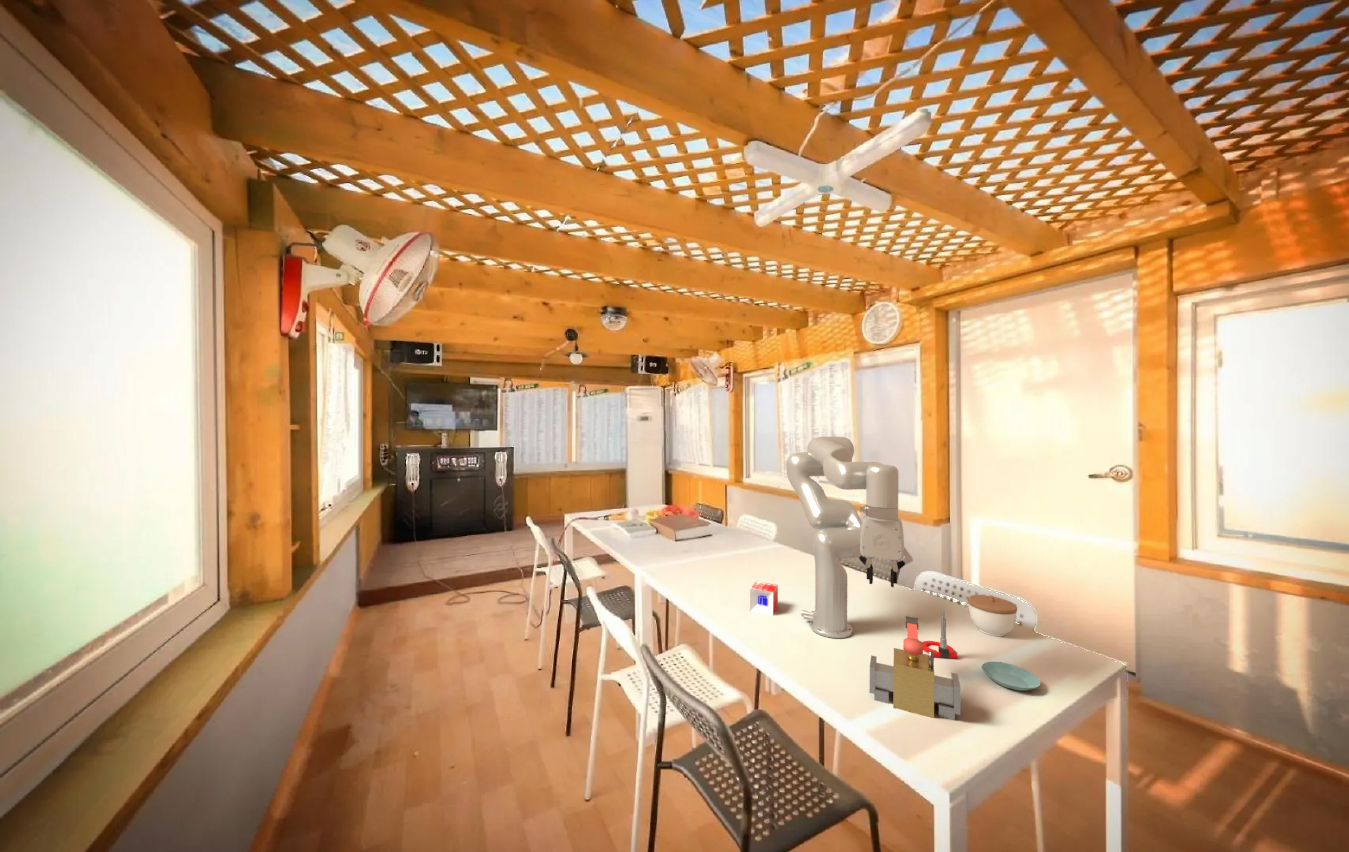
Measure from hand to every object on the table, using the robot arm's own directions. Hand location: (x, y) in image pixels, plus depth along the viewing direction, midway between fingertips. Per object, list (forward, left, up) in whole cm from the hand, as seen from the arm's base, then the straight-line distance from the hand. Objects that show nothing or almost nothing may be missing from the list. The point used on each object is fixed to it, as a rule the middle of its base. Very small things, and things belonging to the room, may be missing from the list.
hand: (881, 583), depth 116 cm
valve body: (+7, -10, -23) cm, 26 cm away
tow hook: (+14, +21, -24) cm, 35 cm away
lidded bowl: (+30, +43, -24) cm, 57 cm away
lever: (+7, -3, -11) cm, 14 cm away
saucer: (+29, +11, -24) cm, 39 cm away
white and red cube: (-38, +27, -24) cm, 52 cm away
